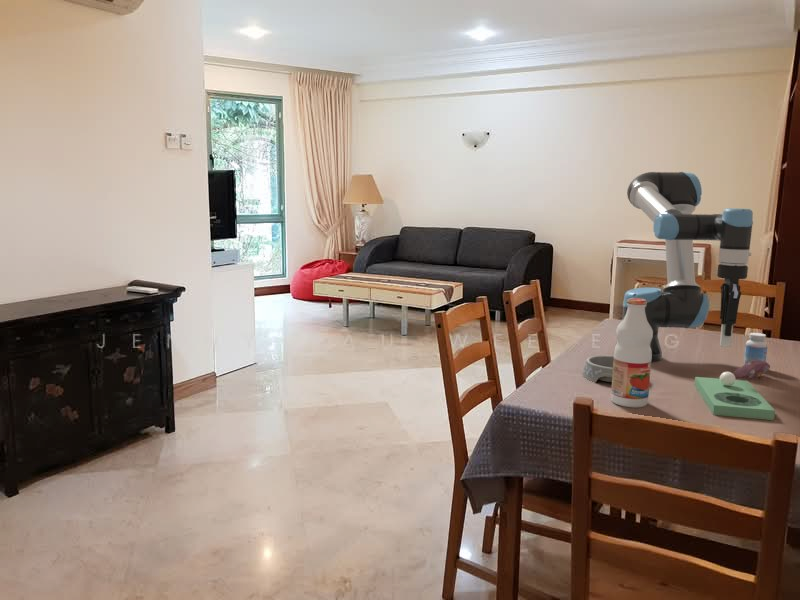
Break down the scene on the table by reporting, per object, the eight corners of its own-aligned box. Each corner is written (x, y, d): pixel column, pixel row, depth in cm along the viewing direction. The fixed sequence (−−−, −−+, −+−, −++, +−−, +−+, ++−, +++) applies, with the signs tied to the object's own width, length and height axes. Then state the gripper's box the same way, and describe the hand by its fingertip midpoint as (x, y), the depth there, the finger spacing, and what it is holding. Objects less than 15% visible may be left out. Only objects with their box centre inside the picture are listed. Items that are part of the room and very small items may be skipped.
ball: (720, 387, 182) (722, 373, 181) (717, 383, 186) (718, 369, 185) (736, 388, 181) (737, 374, 180) (732, 384, 185) (734, 370, 184)
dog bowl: (588, 367, 210) (589, 351, 209) (649, 376, 201) (650, 359, 201) (575, 381, 195) (576, 363, 194) (640, 391, 187) (641, 372, 186)
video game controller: (741, 384, 198) (753, 367, 194) (730, 374, 201) (741, 357, 197) (764, 381, 202) (776, 364, 198) (753, 371, 205) (764, 354, 201)
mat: (694, 385, 192) (695, 376, 191) (746, 389, 189) (747, 380, 188) (713, 414, 167) (714, 405, 167) (774, 420, 164) (775, 410, 163)
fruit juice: (620, 394, 182) (628, 295, 177) (653, 402, 176) (662, 299, 171) (604, 402, 176) (611, 299, 171) (637, 410, 169) (646, 304, 164)
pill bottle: (767, 371, 207) (771, 337, 205) (746, 370, 208) (750, 335, 206) (761, 366, 213) (765, 332, 211) (740, 365, 214) (744, 331, 212)
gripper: (754, 266, 177) (745, 352, 181) (741, 262, 189) (734, 342, 193) (723, 265, 179) (716, 350, 182) (713, 261, 191) (706, 340, 195)
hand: (725, 346), depth 188 cm, fingers closed
